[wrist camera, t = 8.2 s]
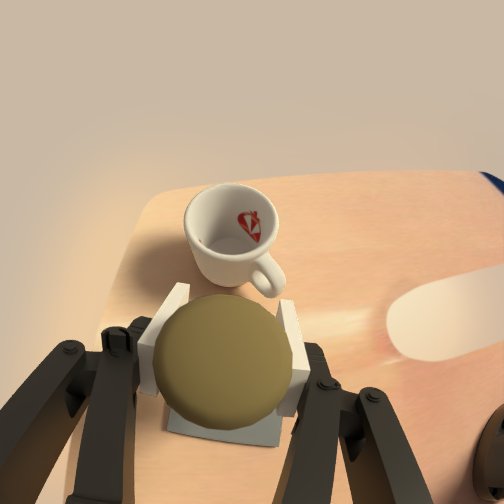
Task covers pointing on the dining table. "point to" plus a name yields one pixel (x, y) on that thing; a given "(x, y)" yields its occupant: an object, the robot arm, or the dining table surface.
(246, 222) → the cup
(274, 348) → the pepper mill
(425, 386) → the dining table surface
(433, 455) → the dining table surface
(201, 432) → the coaster
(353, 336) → the dining table surface
